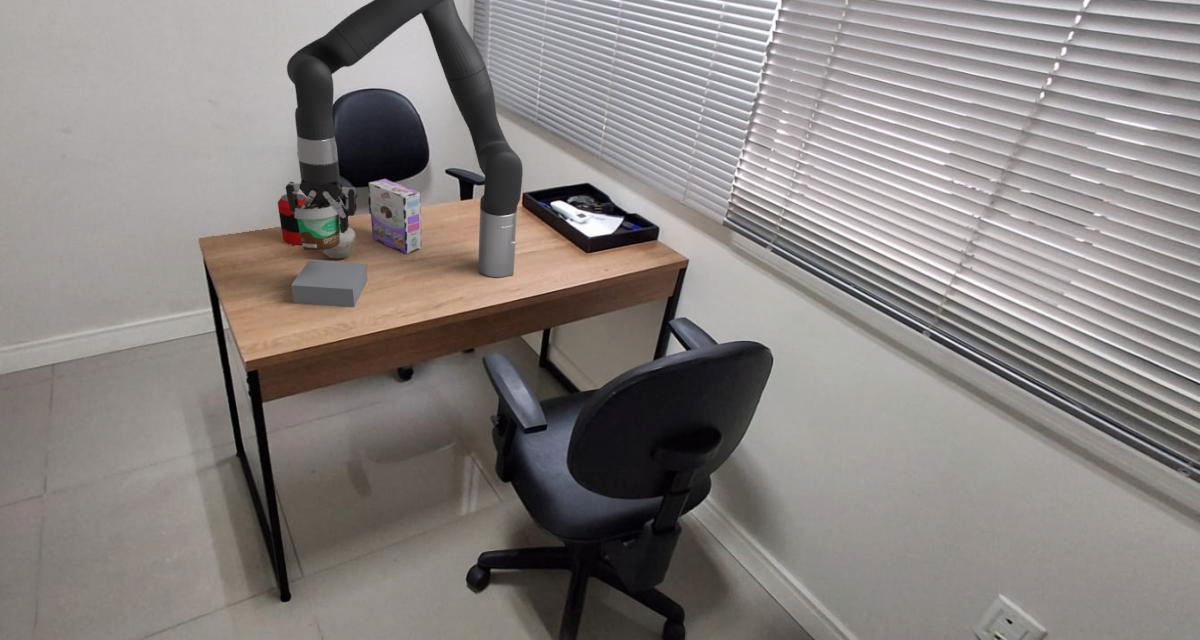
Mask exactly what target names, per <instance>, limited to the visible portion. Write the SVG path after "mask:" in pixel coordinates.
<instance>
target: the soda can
mask: <svg viewBox="0 0 1200 640" xmlns="http://www.w3.org/2000/svg"><path fill="white" fill-rule="evenodd" d="M297 199H298V204H299V205H301V206H303V204H304V202H305V200H306V199H307V197H306V196H305V194H301V193H297ZM277 207H278V214H279V215H278V216H279V221H280V227H281V234H282V235H281V237H282V240H283V242H284V243H285V242H286V243H285V244H287V243H288V244H287V245H289V244H291V245H290V246H295V245H300V246H303V245H302V240H301V235H300V231H299V226H298V221H297V218H295V212H291V211H290V208H289V203H288V198H287V193H285V194H283V195H282V196H281V197H280V198H279V200H278V201H277Z"/></svg>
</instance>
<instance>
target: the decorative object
mask: <svg viewBox="0 0 1200 640" xmlns="http://www.w3.org/2000/svg"><path fill="white" fill-rule="evenodd" d="M356 236H357V234H356V231H354V230H353V228H351V227H350V226H349V227H348V229H347V231H345V233H341V228H340V242H339V244H338V245H337V246H336V247H334V248H331V249H327V250H322V252H323V253H324V255H326V256H328V257H329V258H331V259H334V260H335V259H337V260H338V259H344V258H346V257H348V256H349V255H350V254H351V253H352V252H354V247H355V240H356Z"/></svg>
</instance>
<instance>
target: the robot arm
mask: <svg viewBox="0 0 1200 640" xmlns="http://www.w3.org/2000/svg"><path fill="white" fill-rule="evenodd" d="M419 15H422V17H423V19H424V21H425V23H426V26H427V28H428V31H429V34H430V37H431V40H432V43H433V45H434V49H435V52H436V54H437V57H438V60H439V63H440V66H441V68H442V71H443V74H444V77H445V79H446V83H447V84H448V88H449V90H450V92H451V94H452V97H453V99H454V101H455V104H456V106H457V108H458V110H459V112H460V114H461V116H462V118H463V121H464V122H465V124H466V126H467V128H468V131H469V133H470V136H471V139H472V143H473V146H474V150H475V155H476V159H477V163H478V165H479V168H480V170H481V172H482V173H483V175H484V190H483V195H481V196H480V202H479V203H480V204H479V208H480V209H479V230H478V231H479V232H478V233H479V234H478V235H479V237H478V263H477V264H478V265H477V268H478V271H479V272H480V274H482V275H485V276H487V277H491V278H506V277H509V276H514V273H515V272H514V271H515V259H516V258H515V255H516V231H517V230H516V229H517V218H518V217H517V216H518V215H517V214H518V213H517V211H518V205H519V203H520V199H521V193H522V186H523V185H522V184H523V170H524V169H523V162H522V160H521V158H520V156H519V155H518V154H517V153H516V152H515V151H514V150H513V149H512V148H511V146H510V145H509V142H508V140H507V139H506V137H505V135H504V132H503V129H502V127H501V125H500V123H499V119H498V115H497V110H496V109H497V108H496V100H495V93H494V88H493V84H492V80H491V77H490V75H489V72H488V68H487V66H486V63H485V61H484V58H483V57H482V54H481V53H480V52H481V51H480V50H479V49H478V46H477V45H476V43H475V42H474V40H473V38H472V36H471V35H470V33H469V31H468V30H467V28H466V27H465V25H464V23H463V22H462V19H461V17H460V16H459V13H458V10H457V8H456V4H455V0H372V1H371V2H368V3H367V4H365V5H363V6H361V7H360V8H358V9H356V10H355V11H353V12H352V13H351V14H349V15H348V16H346V17H345V18H344V19H342V20H341V21H340V22H338V24H336V25H335V26H334V27H333V28H332V29H330V30H329V31H328V32H327V33H326V34H325V35H322V37H319V38H317V39H315V40H314V41H312V42H310V43H308V44H306V45H304V46H303V47H302V48H300V49H298V50H297V51H296V52H295V53H294V54H293V55H292V56H291V57H290V58H289V59H288V62H287V65H286V72H287V76H288V78H289V80H290V81H291V82H292V83H293V84H294V88H295V95H296V96H295V97H296V105H297V107H296V108H295V112H294V117H295V118H294V120H295V127H296V129H295V130H296V134H297V135H296V138H297V141H296V147H297V151H296V152H297V153H296V154H297V157H298V164H299V172H300V173H299V174H300V183H297V182H296V183H295V182H294V181H289V182H288V183H287V184H286V186H285V192H286V193H285V194H287V198H288V203H289V208H290V211H291V212H295V208H298V209H303V208H305V207H307V208H309V206H310V205H311V203H314V204H324V205H330V204H331V206H332V207H333V208H334V209H335V210H337V212H338V214H339V215H340V228H341V233H345V231H347V229H348V227H350V225H349V224H350V223H349V217H352V216H353V217H354V215H355V214H356V211H357V188H356V186H354V185H352V186H350V187H349V186H348V187H347V186H343V184H341V181H340V179H341V178H340V167H339V156H338V146H337V142H336V136H335V127H334V118H333V108H334V91H335V90H334V80H333V79H334V78H333V75H334V74H335V73H336V72H337V71H339V70H340V69H342V68H345V67H347V68H348V67H352V66H354V65H355V64H357V63H358V62H359V61H360V60H361V59H363V58H365V57H366V56H367V55H368V54H369V53H370V52H372V51H373V50H374V49H375V48H376V47H377V46H379V45H380V44H381V43H382V42H384V41H385V40H387V39H388V37H390V36H391V35H392V34H394V33H395V32H396V31H398V30H399V29H400V28H401V27H402V26H404V25H406V24H407V23H408V22H410V21H411V20H412V19H414V18H415V17H418V16H419ZM299 191H301V192H302V193H303V195H304V196H305V197H306V198H307V199H306V200H305V202H304V204H303V206H301V205H299V204H298V199H297V194H299ZM342 193H343V194H344V196H345V198H347V200H348V201H347V204H348V205H347V206H348V208H347V207H346V206H345V204H344V202H343V200H342V199H341V198H340V195H341V194H342ZM337 202H338V203H337Z"/></svg>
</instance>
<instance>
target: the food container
mask: <svg viewBox="0 0 1200 640" xmlns="http://www.w3.org/2000/svg"><path fill="white" fill-rule="evenodd" d="M337 203H338V202H337ZM295 218H297V221H298V226H299V231H300V235H301V240H302V245H301V246H302V248H303V251H315V252H317V251H323V250H327V249H331V248H334V247H336V246H337V245H338V244H339V242H340V215H339V214H338V212H337V210H335V209H334V208H333V207H332V206H331V204H330V205H324V204H314V203H311V205H310V206H309V208H307V207H305V208H303V209H298V208H295Z"/></svg>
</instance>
